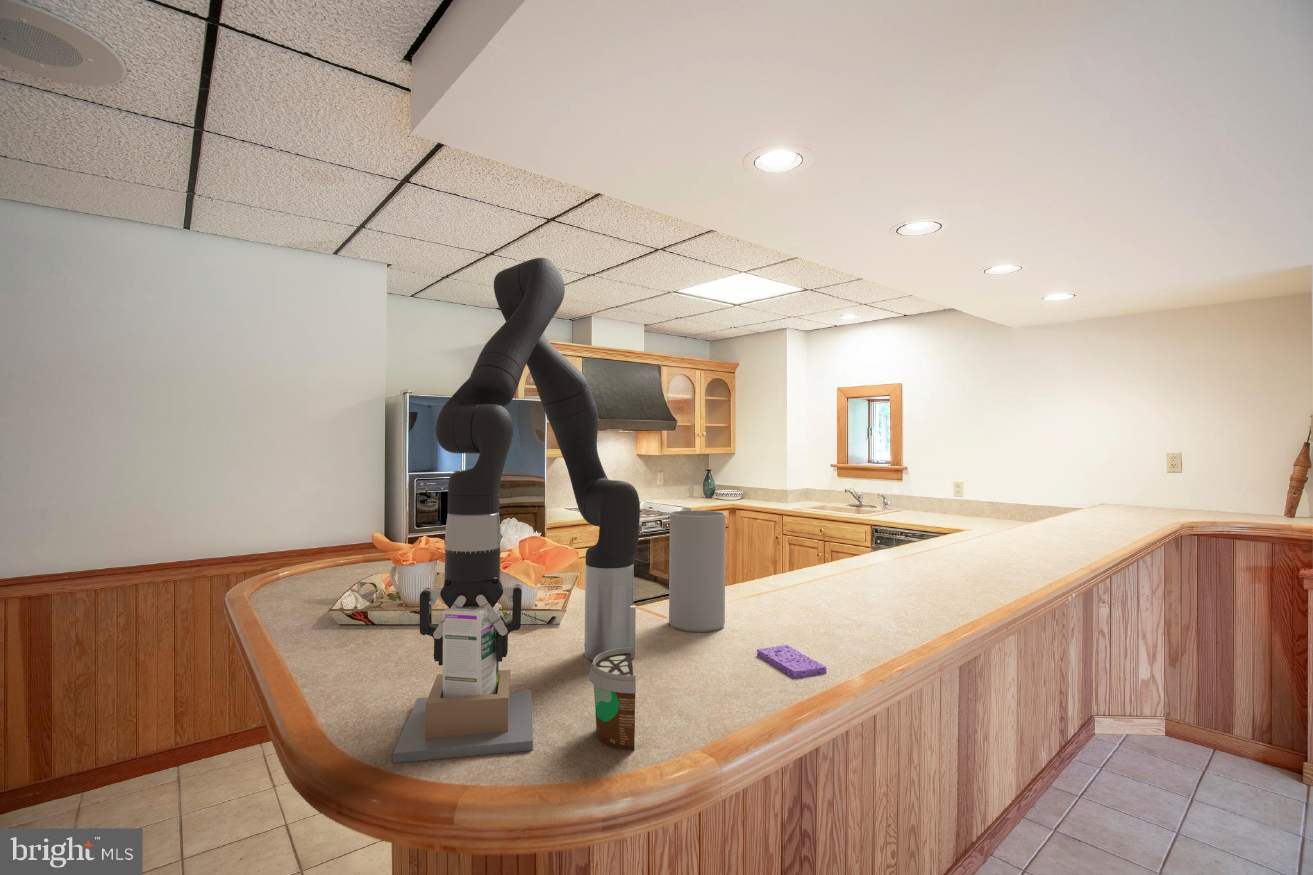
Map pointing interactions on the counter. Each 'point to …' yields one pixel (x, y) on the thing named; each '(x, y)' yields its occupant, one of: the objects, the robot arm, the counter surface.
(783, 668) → the sponges
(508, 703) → the socket holder
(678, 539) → the cylinder vase
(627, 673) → the food container
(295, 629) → the counter surface
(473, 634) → the syrup box
